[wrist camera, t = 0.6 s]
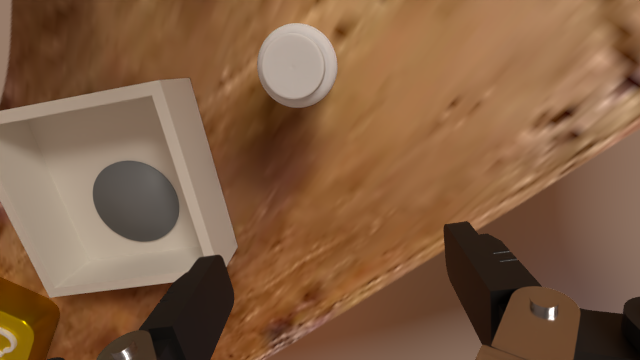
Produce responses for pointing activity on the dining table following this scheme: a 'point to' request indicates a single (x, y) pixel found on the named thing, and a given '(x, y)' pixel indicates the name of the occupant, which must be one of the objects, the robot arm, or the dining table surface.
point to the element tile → (25, 323)
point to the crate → (113, 187)
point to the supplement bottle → (297, 65)
